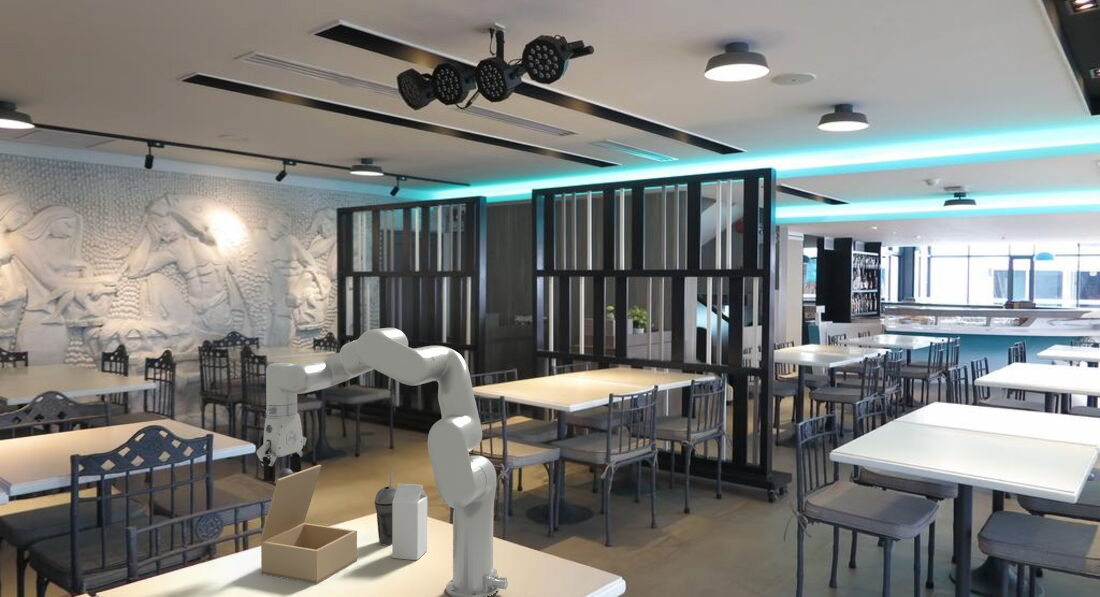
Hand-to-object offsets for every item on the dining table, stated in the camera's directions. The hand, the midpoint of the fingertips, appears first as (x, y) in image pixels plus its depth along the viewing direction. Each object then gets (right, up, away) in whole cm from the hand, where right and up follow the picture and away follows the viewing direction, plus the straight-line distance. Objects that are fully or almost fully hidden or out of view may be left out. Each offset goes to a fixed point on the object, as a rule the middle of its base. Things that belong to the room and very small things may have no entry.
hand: (283, 476), depth 190 cm
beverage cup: (+24, -23, +16) cm, 36 cm away
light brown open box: (+8, -23, -3) cm, 24 cm away
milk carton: (+32, -23, +6) cm, 40 cm away
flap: (+3, -7, -1) cm, 7 cm away
